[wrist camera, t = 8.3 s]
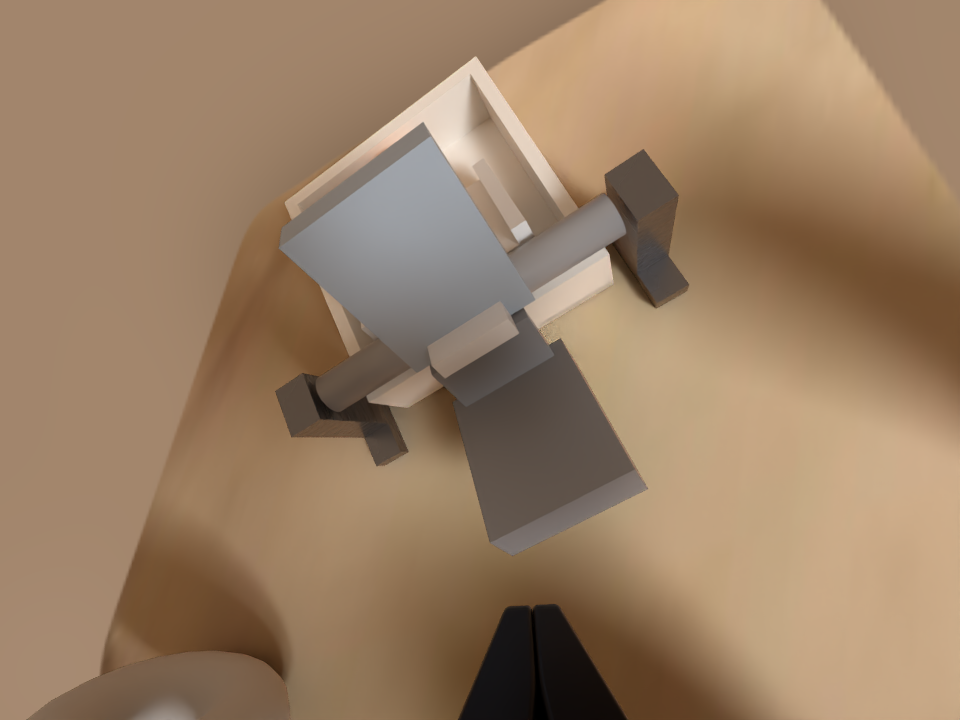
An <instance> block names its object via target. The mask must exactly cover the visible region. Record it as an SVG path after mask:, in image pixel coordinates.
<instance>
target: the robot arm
mask: <svg viewBox="0 0 960 720" xmlns="http://www.w3.org/2000/svg"><path fill="white" fill-rule="evenodd" d="M458 720H629V719H628V718H627V716H626V714H625V713H624V711H623V709H622V708H621V706H620V705H619V703H618V701H617V700H616V698H615V696H614V695H613V693H612V691H611V690H610V688H609V686H608V685H607V683H606V682H605V680H604V678H603V677H602V675H601V673H600V672H599V670H598V668H597V667H596V665H595V663H594V662H593V660H592V659H591V657H590V655H589V654H588V652H587V650H586V649H585V647H584V645H583V644H582V642H581V640H580V639H579V637H578V636H577V634H576V632H575V631H574V629H573V627H572V626H571V624H570V622H569V621H568V619H567V618H566V616H565V614H564V613H563V611H562V609H561V608H560V607H559V606H558V605H556V604H547V605H535V606H534V607H533V614H532V609H531V607H529V606H510V607H507V608H506V609H505V610H504V612H503V614H502V617H501V619H500V621H499V624H498V626H497V628H496V631H495V633H494V635H493V638H492V640H491V643H490V645H489V647H488V650H487V652H486V654H485V657H484V659H483V661H482V664H481V666H480V669H479V671H478V673H477V676H476V678H475V680H474V683H473V685H472V687H471V690H470V692H469V695H468V697H467V699H466V702H465V704H464V706H463V709H462V711H461V713H460V716H459V718H458Z"/></svg>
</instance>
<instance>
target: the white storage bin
mask: <svg viewBox="0 0 960 720" xmlns="http://www.w3.org/2000/svg"><path fill="white" fill-rule="evenodd" d="M422 122H424V124H425V125H426V127H427V128H428V130H429V132H430V133H431V135H432V136H433V138H434V139H435V141H436V143H437V144H438V146H439V147H440V149H441V150H442V152H443V153H444V155H445V157H446V158H447V160H448V161H449V163H450V164H451V166H452V168H453V169H454V171H455V172H456V174H457V175H458V177H459V179H460V180H461V182H462V183H463V185H464V186H465V188H468V187H469V186H471V185H472V184H473V183H475V182H476V181H478V180H479V177H478V175H477V174H476V172H475V170H474V169H473V167H472V166H473V165H474V164H476V163H477V162H479V161H480V160H481V159H483V158H484V160H485V161H486V163H487V164H488V166H489V167H490V168H491V170H492V171H493V173H494V174H495V176H496V177H497V179H498V180H499V182H500V183H501V185H502V186H503V188H504V189H505V191H506V192H507V194H508V195H509V197H510V198H511V199H512V201H513V202H514V204H515V205H516V207H517V208H518V210H519V211H520V213H521V214H522V216H523V217H524V219H525V220H526V222H527V224H528V225H529V227H530V229H531V231H532V233H533V234H534V236H537V235H538V234H540V233H541V232H543V231H544V230H546V229H547V228H549V227H551V226H552V225H554V224H555V223H557V222H558V221H560V220H561V219H563V218H564V217H566V216H567V215H569V214H571V213H572V212H574V211H575V210H577V209H578V207H577V205H576V204H575V202H574V201H573V199H572V198H571V197H570V195H569V194H568V192H567V191H566V189H565V188H564V186H563V185H562V183H561V182H560V180H559V179H558V177H557V176H556V174H555V173H554V171H553V170H552V168H551V167H550V165H549V164H548V162H547V161H546V159H545V158H544V157H543V155H542V154H541V152H540V151H539V149H538V148H537V146H536V145H535V143H534V142H533V140H532V139H531V137H530V136H529V134H528V133H527V131H526V130H525V128H524V127H523V125H522V124H521V122H520V121H519V119H518V118H517V116H516V115H515V114H514V112H513V111H512V109H511V108H510V106H509V105H508V103H507V102H506V100H505V99H504V97H503V96H502V94H501V93H500V91H499V90H498V88H497V87H496V85H495V84H494V82H493V81H492V79H491V78H490V76H489V75H488V73H487V72H486V71H485V69H484V68H483V66H482V65H481V63H480V62H479V60H478V59H477V57H474V58H473V59H472V60H471V61H469V62H468V63H466V64H465V65H464V66H462V67H461V68H460V69H459V70H457V71H456V72H455V73H453V74H452V75H451V76H449V77H448V78H447V79H445V80H444V81H443V82H441V83H440V84H439V85H438V86H436V87H435V88H434V89H432V90H431V91H430V92H428V93H427V94H426V95H424V96H423V97H422V98H421V99H419V100H418V101H417V102H415V103H414V104H413V105H411V106H410V107H409V108H407V109H406V110H405V111H404V112H402V113H401V114H399V115H398V116H397V117H396V118H394V119H393V120H392V121H390V122H389V123H388V124H387V125H385V126H384V127H382V128H381V129H380V130H378V131H377V132H376V133H375V134H373V135H372V136H371V137H369V138H368V139H367V140H365V141H364V142H363V143H361V144H360V145H359V146H358V147H356V148H355V149H354V150H352V151H351V152H350V153H348V154H347V155H346V156H344V157H343V158H342V159H340V160H339V161H338V162H337V163H335V164H334V165H333V166H331V167H330V168H329V169H327V170H326V171H325V172H323V173H322V174H321V175H319V176H318V177H317V178H316V179H314V180H313V181H312V182H310V183H309V184H308V185H306V186H305V187H304V188H302V189H301V190H300V191H298V192H297V193H296V194H295V195H293V196H292V197H291V198H289V199H288V200H287V201H285V202H284V203H285V206H286V208H287V210H288V213H289V215H290V217H291V220H293V219H294V218H295V217H297V216H298V215H299V214H301V213H302V212H303V211H305V210H306V209H307V208H309V207H310V206H311V205H313V204H314V203H315V202H317V201H318V200H319V199H321V198H322V197H323V196H325V195H326V194H327V193H329V192H330V191H331V190H333V189H334V188H335V187H337V186H338V185H339V184H341V183H342V182H343V181H345V180H346V179H347V178H349V177H350V176H351V175H353V174H354V173H355V172H357V171H358V170H359V169H361V168H362V167H363V166H365V165H366V164H367V163H369V162H370V161H371V160H373V159H374V158H375V157H377V156H378V155H379V154H381V153H382V152H383V151H385V150H386V149H387V148H389V147H390V146H391V145H393V144H394V143H395V142H397V141H398V140H399V139H401V138H402V137H403V136H405V135H406V134H407V133H409V132H410V131H411V130H413V129H414V128H415V127H417V126H418V125H419V124H421V123H422ZM613 284H614V283H613V276H612V269H611V262H610V255H609V253H608V251H607V250H606V248H605V247H604V248H603V249H601V250H600V251H598V252H596V253H595V254H593V255H592V256H590V257H588V258H587V259H585V260H584V261H582V262H580V263H579V264H577V265H575V266H574V267H572V268H571V269H569V270H567V271H566V272H564V273H563V274H561V275H559V276H558V277H556V278H555V279H553V280H551V281H550V282H548V283H547V284H545V285H543V286H542V287H540V288H539V289H537V290H535V291H534V292H532V294H533V296H534V298H535V301H533V302H532V303H530V304H528V305H527V306H525V307H524V309H525V310H526V312H527V313H528V315H529V316H530V318H531V319H532V321H533V322H534V324H535V325H536V326H537V328H538V329H540V328H542V327H543V326H545V325H547V324H548V323H550V322H552V321H553V320H555V319H557V318H558V317H560V316H562V315H563V314H565V313H567V312H568V311H570V310H572V309H573V308H575V307H576V306H578V305H580V304H581V303H583V302H585V301H586V300H588V299H590V298H591V297H593V296H595V295H596V294H598V293H600V292H601V291H603V290H605V289H606V288H608V287H610V286H611V285H613ZM319 286H320V285H319ZM320 288H321V290H322V293H323V295H324V298H325V300H326V302H327V305H328V307H329V309H330V312H331V314H332V316H333V319H334V321H335V324H336V326H337V328H338V331H339V333H340V335H341V338H342V340H343V342H344V345H345V347H346V349H347V352H348V354H349V357H350V356H352V355H353V354H355V353H357V352H358V351H360V350H361V349H363V348H364V347H366V346H367V345H369V344H370V343H372V342H373V341H374V340H373V339H372V338H371V337H370V336H369V335H368V334H366V333H365V332H364V331H363V330H362V329H361V322H360V321H359V320H358V319H357V318H356V317H354V316H353V315H352V314H351V313H350V312H349V311H348V310H347V309H346V308H344V307H343V306H342V305H341V304H340V303H339V302H338V301H337V300H336V299H334V298H333V297H332V296H331V295H330V294H329V293H328V292H327V291H326V290H324V289H323V288H322V287H321V286H320ZM442 387H444V386H443V385H442V384H441V383H440V382H438V381H437V380H436V379H435V378H434V377H433V376H432V374H431V370H430V366H428V367H426V368H425V369H423V370H421V371H420V372H418V373H417V372H415V371H414V370H413V369H412V368H410V369H408V370H407V371H405V372H404V373H402V374H400V375H399V376H397V377H396V378H394V379H392V380H391V381H389V382H387V383H386V384H384V385H383V386H381V387H379V388H378V389H376V390H375V391H373V392H371V393H370V394H368V395H367V396H366V397H367V399H368V401H369V403H375V404H383V405H390V406H398V407H405V408H409V407H410V406H412V405H414V404H415V403H417V402H419V401H420V400H422V399H424V398H425V397H427V396H429V395H430V394H432V393H434V392H435V391H437V390H439V389H440V388H442Z"/></svg>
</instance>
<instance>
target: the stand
mask: <svg viewBox="0 0 960 720" xmlns="http://www.w3.org/2000/svg"><path fill="white" fill-rule="evenodd" d="M605 183H606V191H607V197H608V198H609V199H610V200H611V201H612V203H613V204H614V206H615V207H616V209H617V211H618V212H619V214H620V216H621V218H622V220H623V223H624V225H625V228H626V234H625V235H624V236H622V237H620V238H619V239H617V240H616V241H614V242H612V244H613V246H614V247H615V248H616V250H617V251H618V253H619V254H620V256H621V257H622V259H623V260H624V262H625V263H626V265H627V266H628V268H629V269H630V270H631V272H632V273H633V275H634V276H635V278H636V279H637V281H638V282H639V284H640V285H641V287H642V288H643V289H644V291H645V292H646V294H647V295H648V297H649V298H650V300H651V301H652V303H653V304H654V306H655V307H656V308H658V307H660V306H661V305H663V304H665V303H667V302H668V301H670V300H672V299H674V298H675V297H677V296H679V295H680V294H682V293H684V292H686V291H687V290H688V287H689V284H688V282H687V281H686V280H685V278H684V277H683V275H682V274H681V273H680V271H679V270H678V269H677V267H676V266H675V264H674V263H673V262H672V260H671V259H670V257H669V256H668V253H669V248H670V242H671V236H672V231H673V225H674V219H675V214H676V208H677V202H678V196H679V195H678V194H677V192H676V191H675V190H674V188H673V187H672V186H671V185H670V183H669V182H668V181H667V179H666V178H665V177H664V175H663V174H662V173H661V172H660V170H659V169H658V168H657V166H656V165H655V164H654V162H653V161H652V160H651V159H650V157H649V156H648V155H647V153H646V152H645V151H644V149H643V150H641V151H640V152H638V153H637V154H635V155H634V156H632V157H631V158H629V159H628V160H626V161H625V162H623V163H622V164H620V165H619V166H617V167H615V168H614V169H612V170H611V171H609V172H608V173H606V174H605ZM318 377H319V376H314V375H309V374H304V373H302V374H301V375H299V376H298V377H296V378H295V379H293V380H292V381H290V382H288V383H287V384H285V385H284V386H282V387H281V388H279V389H278V390H276V391H275V392H276V395H277V398H278V401H279V403H280V406H281V409H282V412H283V414H284V417H285V420H286V423H287V426H288V428H289V431H290V434H291V437H359V438H365V439H366V442H367V444H368V447H369V449H370V451H371V454H372V456H373V459H374V461H375V464H376V466H383V465H387V464H388V463H390V462H392V461H393V460H395V459H397V458H399V457H400V456H402V455H404V454H406V453H407V452H408V449H407V447H406V445H405V443H404V440H403V438H402V436H401V433H400V431H399V429H398V427H397V424H396V422H395V420H394V417H393V415H392V413H391V411H390V408H389V406H388V405H383V404H375V403H369V401H368V399H367V397H366V396H365V397H363V398H362V399H360V400H359V401H357V402H355V403H354V404H352V405H351V406H349V407H347V408H346V409H344V410H342V411H341V412H336V411H333V410H331V409H330V408H329V407H327V406H326V405H325V404H324V402H323V401H322V400H321V398H320V397H319V395H318V392H317V390H316V379H317V378H318Z"/></svg>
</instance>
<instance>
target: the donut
mask: <svg viewBox="0 0 960 720" xmlns="http://www.w3.org/2000/svg"><path fill="white" fill-rule="evenodd" d="M27 720H291V719H290V707H289V700H288V693H287V687H286V685H285V683H284V681H283V679H282V678H281V677H280V676H279V675H278V674H277V673H276V672H275V671H274V670H273V669H272V668H271V667H270V666H269V665H268V664H266V663H265V662H264V661H262V660H259V659H257V658H254V657H251V656H249V655H246V654H240V653H232V652H223V651H195V652H184V653H178V654H172V655H166V656H160V657H156V658H152V659H148V660H145V661H141V662H138V663H134V664H130V665H127V666H124V667H121V668H119V669H116V670H114V671H111V672H109V673H106V674H104V675H101V676H98V677H96V678H93V679H91V680H89V681H87V682H85V683H84V684H81V685H79V686H78V687H76V688H74V689H72V690H70V691H68V692H67V693H65V694H63V695H61V696H59V697H57V698H55V699H53V700H52V701H50V702H49V703H48V704H46V705H45V706H44V707H42V708H41V709H40V710H38V711H37V712H36V713H35V714H33V715H32V716H31V717H29V718H28V719H27Z"/></svg>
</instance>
